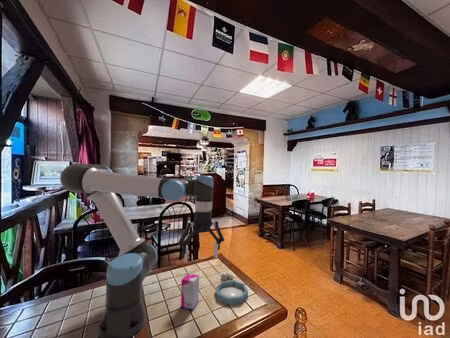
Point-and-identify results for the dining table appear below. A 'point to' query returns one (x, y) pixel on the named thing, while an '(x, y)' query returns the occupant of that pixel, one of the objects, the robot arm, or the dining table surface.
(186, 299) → the supplement box
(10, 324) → the dining table surface
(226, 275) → the pebble pile
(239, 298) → the dish
